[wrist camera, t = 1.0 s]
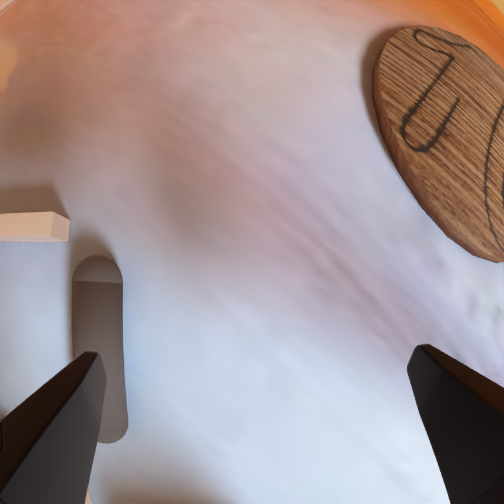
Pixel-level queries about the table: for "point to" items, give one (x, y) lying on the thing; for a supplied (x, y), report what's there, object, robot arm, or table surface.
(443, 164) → the trivet
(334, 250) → the table surface
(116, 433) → the grey capsule bar
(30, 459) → the robot arm
